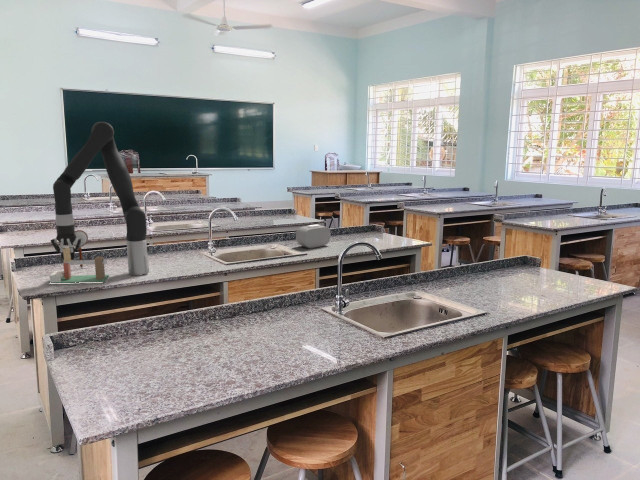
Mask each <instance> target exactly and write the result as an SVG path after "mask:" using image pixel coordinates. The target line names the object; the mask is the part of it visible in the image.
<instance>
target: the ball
mask: <svg viewBox="0 0 640 480" xmlns="http://www.w3.org/2000/svg"><path fill="white" fill-rule="evenodd" d="M57 271H58V272H56V274H55V275H61V279H63V278H64V272H63V271H64V270H57Z"/></svg>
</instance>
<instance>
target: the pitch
mask: <svg viewBox="0 0 640 480" xmlns="http://www.w3.org/2000/svg"><path fill="white" fill-rule="evenodd" d="M94 260H95V264H94V267H95V274H90V275H89V274H87V275H71V278H70V279H65V277H64V278H63V279H61V275H55V274H56V272H58V271H59V270H55V271H53V273H51V274H50V275H49V282H51V283H75V282H76V283H79V282H104V281H105V280H106V279H107V278H109V277H110V274H106V273H105V271H106V269H105V264H102V260H105V258H104V256H100V255H99V256H96V257H95V258H94ZM62 271H63V272H64V270H62ZM106 281H107V280H106ZM106 281H105V282H106ZM105 282H104V283H105Z"/></svg>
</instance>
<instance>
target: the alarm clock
mask: <svg viewBox="0 0 640 480" xmlns="http://www.w3.org/2000/svg"><path fill="white" fill-rule="evenodd" d="M331 234H332V232H331V229H330V228H329V227H327V226H324V225H320V224H310V225H309V224H308V225H306V226H305V225H304V226H301V227H299V228H298V229H297V230H296V233H295V240H296V243H297V244H298V245H300V246H301V247H303V248H307V249H314V248H319V247H324V246H326V245H328V243H330V240H331Z"/></svg>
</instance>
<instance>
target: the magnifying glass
mask: <svg viewBox="0 0 640 480" xmlns="http://www.w3.org/2000/svg"><path fill="white" fill-rule="evenodd" d="M75 235H76V237H77V238H82V242H81V245H80V247H79V249H78V255H79V256H78V257H79V260H83V253H82V252H83V251H82V247H84V246H85V245H86V244H87V243H88V240H89V236H88V234H87V232H86V231H84V230H82V229H80V230H79V229H78V230H75ZM73 243H74V248H75V247H76V245H77V242H76V240H75V241H74V242H73ZM79 267H80V268H81V269H83V267H84V264H79Z"/></svg>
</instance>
